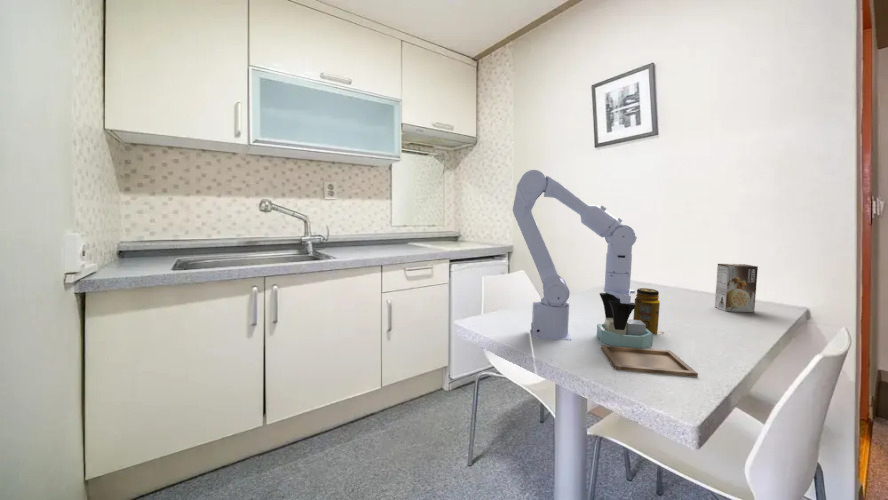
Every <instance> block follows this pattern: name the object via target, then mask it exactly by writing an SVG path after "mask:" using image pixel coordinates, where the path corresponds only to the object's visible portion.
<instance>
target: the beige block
mask: <svg viewBox="0 0 888 500" xmlns="http://www.w3.org/2000/svg"><path fill="white" fill-rule="evenodd" d="M604 318H605V319H604V322H605V330H607V331H610V332H614V333H617V334H621V335H626V329H627V324H626V327H625V329H624V330H616V329H615V328H614V322H613V318H606V317H604Z"/></svg>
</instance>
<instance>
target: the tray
mask: <svg viewBox="0 0 888 500" xmlns="http://www.w3.org/2000/svg"><path fill="white" fill-rule="evenodd" d="M600 349H601V350H602V352H603V353H604V355H605V357H607V359H608V361H609V362H610V364H611V366H612V367H613V368H614V370H616V371H626V372H627V371H628V372H638V373H648V374H649V373H650V374H660V375H671V376H672V375H673V376H679V377H680V376H682V377H692V378H693V377H694V378H698V377H699V373H698V372H697V371H696V370H695V369H693V368H692V367H691V366H690V365H689V364H688V363H687V362H685V361H684V360H682V359H681V358H680V357H679V356H678V355H677V354H675V353H674V352H673V351H671V350H670V349H668V350H667V349H655V348H653V349H652V348H645V349H644V348H631V347H618V346H612V345H605V344H604V345H602V344H601V345H600Z"/></svg>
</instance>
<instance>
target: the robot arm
mask: <svg viewBox="0 0 888 500" xmlns="http://www.w3.org/2000/svg"><path fill="white" fill-rule="evenodd" d="M541 195H543V198H550V199H551V198H552V199H553V198H554V199H556V200H557V201H558V202H560V203H561V204H563V205H565V206H566V207H567V208H568V209H571V210H572V211H573V212H575V213H576V214H578V215H579V216H580V222H581V224H582V225H584V226H585V227H587V228H588V229H589V230H591V231H592V232H593V233H595V234H596V235H598V236H599V237H601V238H604V239H605V242H606V244H607V252H606V257H605V258H606V259H605V273H604V274H605V275H604V286H603V287H604V288H603V292H599V296H600V299H601V301H602V304H603V308H604V315H605V318H613V322H614V328H615V329H616V330H624V329H625V327H626V324H627V321H628V319H629V318H630V317H631V316H630V315H631V314H632V312H634V308H635V306H636V304H635V302H631V297H632V296H631V294H635V293H636V290H635V289H631V275H632V260H633V258H632V257H633V255H632V251H633V245H635V243H636V241H637V238H638V237H637V236H636V232H635V230H634V229H633V228H632V227H631V226H629V225H626V224H622V222H623V220H622V219H621V218H620V217H619V218H616V217H615V216H613V215H612V214H611V213H609V212H608V211H606V210H607V207H605V206H604V205H600V206H599V205H598V204H592V205H591V204H588V203H587V202H585V201H583V200H582V199H581V198H579V197H578V195H576V194H574V192H572V191H570V190H569V189H568V188H567V187H566V186H564V185H563V184H562V183H560V182H558V181H557V180H555V179H554V178H552V177H551V176H548V175H545V174H544V173H543V172H542V171H540V170H538V169H530V170H527V171H526V172H525V173H524V174H523V175H522V176H521V178H520V179H519V181H518V183H517V184H516V191H515V196H514V201H513V205H512V213H513V216H514V217H515V220H516V222H517V225H518V227H519V230H520V231H521V234H522V237H523V238H524V242H525V244H526V246H527V249H528V251H529V253H530V255H531V256H530V257H532V261H533V263H534V265H535V267H536V269H537V271H538V275H539V277H540V281H541V283H542V290H543V297H542V298H540V301H537V302H536V301H534V302H532V311H531V314H532V318H531V324H530V330H531V332H532V337H533V338H536V339H547V340H560V341H561V340H562V341H572V337H571V336H570V333H569V322H570V321H569V316H570V302H569V301H568V300H569V299H570V295H571V294H570V293H571V292H570V289H569V287H568V286H567V282H566V281H565V279H564V278H563V277H561V275H559V273H558V271H557V268H556V265H555V264H554V261H553V259H552V257H551V256H552V255H550V252H549V249H548V247H547V245H546V241H545V240H544V238H543V236H542V234H541V231H540V229H539V226H538V224H537V221H536V219H535V217H534V216H535V215H534V214H533V209H534V206H535V204H536V202H537V200H538V199H539V197H541Z"/></svg>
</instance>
